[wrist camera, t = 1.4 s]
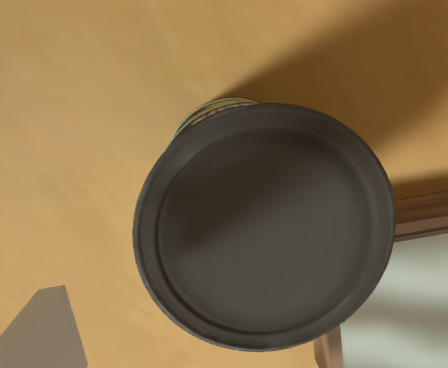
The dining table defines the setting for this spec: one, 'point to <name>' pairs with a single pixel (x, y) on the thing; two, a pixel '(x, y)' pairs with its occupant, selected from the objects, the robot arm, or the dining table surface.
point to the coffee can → (263, 225)
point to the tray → (401, 299)
